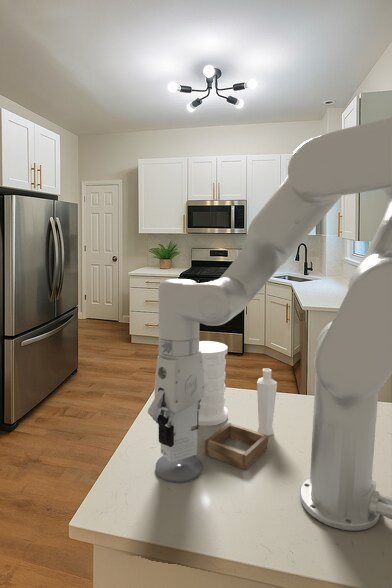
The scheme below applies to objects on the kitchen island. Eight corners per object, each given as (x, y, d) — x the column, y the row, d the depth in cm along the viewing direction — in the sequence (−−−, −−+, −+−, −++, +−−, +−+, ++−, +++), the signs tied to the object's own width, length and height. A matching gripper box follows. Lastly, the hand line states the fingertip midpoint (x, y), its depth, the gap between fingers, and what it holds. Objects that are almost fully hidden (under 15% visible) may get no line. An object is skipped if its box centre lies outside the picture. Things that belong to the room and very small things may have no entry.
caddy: (267, 448, 81) (268, 435, 81) (245, 470, 73) (246, 455, 73) (229, 435, 87) (229, 422, 86) (205, 453, 79) (205, 440, 79)
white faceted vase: (251, 428, 90) (252, 367, 88) (267, 426, 91) (269, 365, 89) (260, 438, 85) (262, 374, 83) (277, 435, 87) (279, 372, 85)
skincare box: (170, 464, 70) (170, 401, 68) (159, 452, 74) (159, 393, 72) (198, 454, 73) (199, 394, 72) (186, 443, 77) (186, 386, 75)
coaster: (211, 465, 75) (211, 461, 75) (182, 489, 68) (182, 484, 68) (175, 450, 80) (175, 447, 80) (145, 471, 73) (145, 467, 73)
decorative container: (176, 422, 93) (176, 351, 90) (189, 403, 104) (189, 339, 101) (223, 428, 90) (225, 354, 87) (231, 408, 101) (232, 342, 99)
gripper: (163, 361, 61) (164, 463, 64) (221, 339, 75) (219, 424, 78) (130, 353, 66) (132, 449, 68) (190, 334, 80) (190, 414, 82)
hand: (179, 435), depth 73 cm, fingers closed on skincare box, 7 cm apart
